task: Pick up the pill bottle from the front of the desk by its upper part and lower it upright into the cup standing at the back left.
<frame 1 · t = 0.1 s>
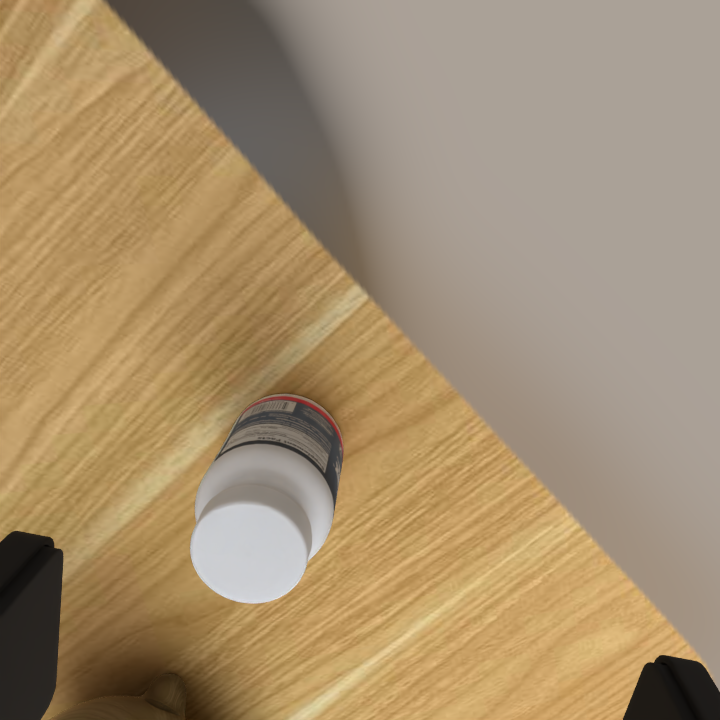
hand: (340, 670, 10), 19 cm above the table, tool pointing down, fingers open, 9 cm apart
pill bottle: (288, 442, 31), on the table
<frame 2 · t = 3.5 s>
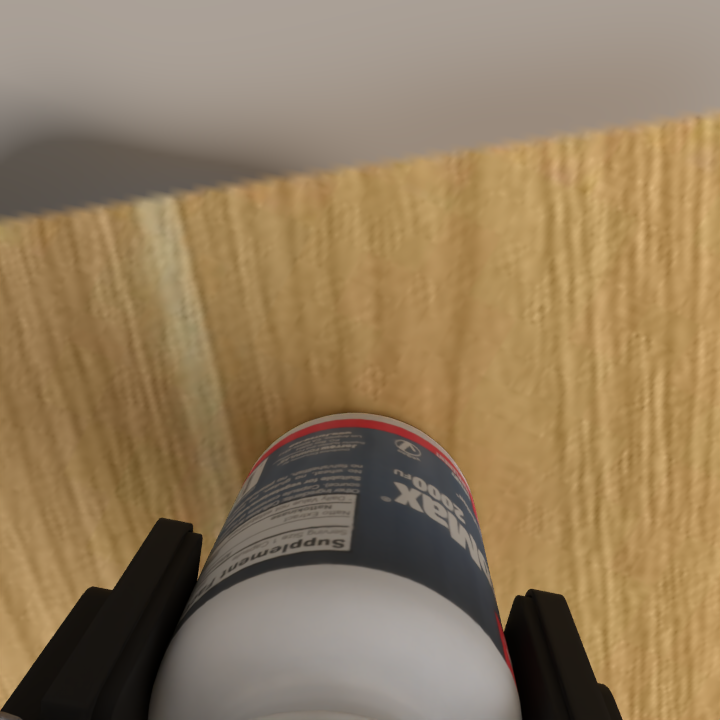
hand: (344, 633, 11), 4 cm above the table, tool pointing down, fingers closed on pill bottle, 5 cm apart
pill bottle: (358, 509, 15), on the table, touching gripper
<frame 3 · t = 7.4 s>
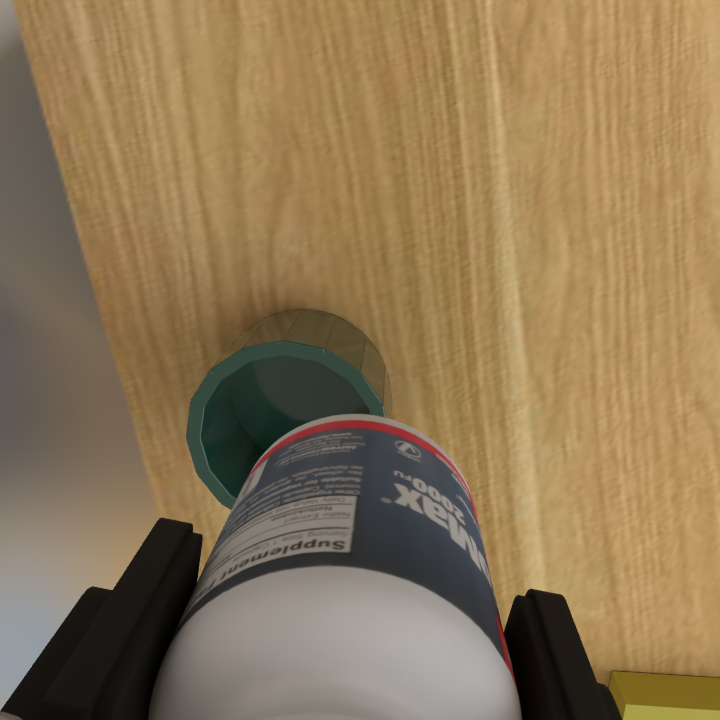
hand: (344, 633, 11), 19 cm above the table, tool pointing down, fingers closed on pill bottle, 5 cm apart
pill bottle: (358, 510, 15), point 15 cm above the table, touching gripper
cup: (305, 391, 30), on the table
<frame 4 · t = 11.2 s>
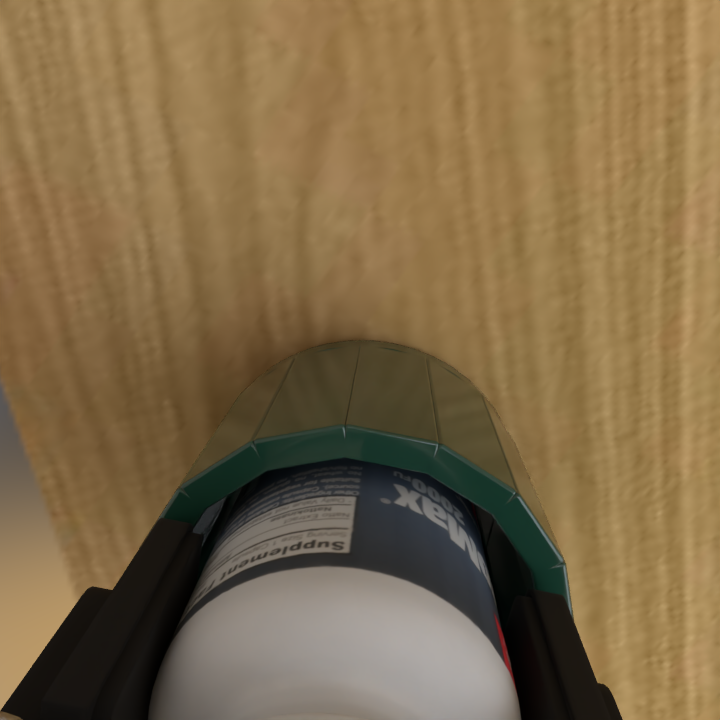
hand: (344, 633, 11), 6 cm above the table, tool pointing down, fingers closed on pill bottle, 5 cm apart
pill bottle: (357, 511, 15), point 2 cm above the table, touching gripper
cup: (363, 486, 17), on the table
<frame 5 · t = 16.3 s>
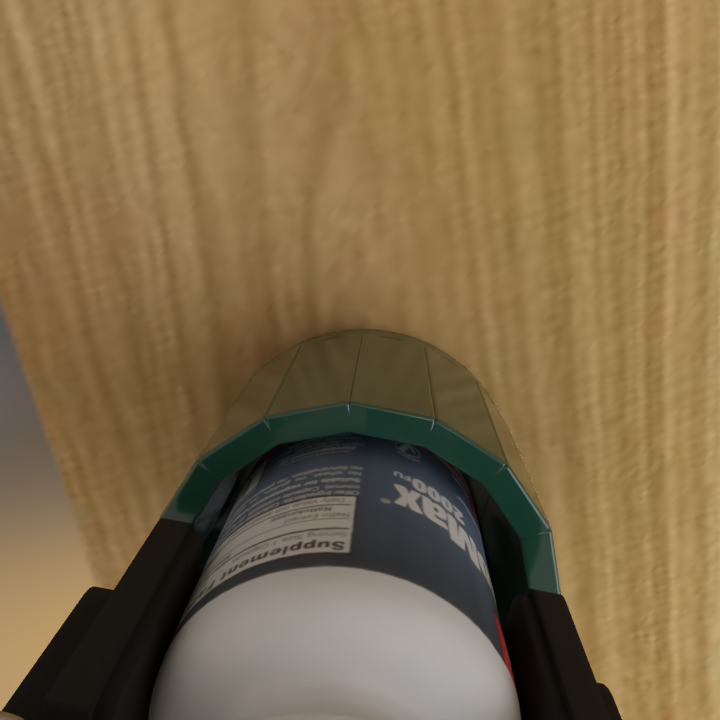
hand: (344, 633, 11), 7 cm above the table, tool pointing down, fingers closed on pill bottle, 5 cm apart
pill bottle: (357, 511, 15), point 3 cm above the table, touching gripper
cup: (365, 468, 18), on the table
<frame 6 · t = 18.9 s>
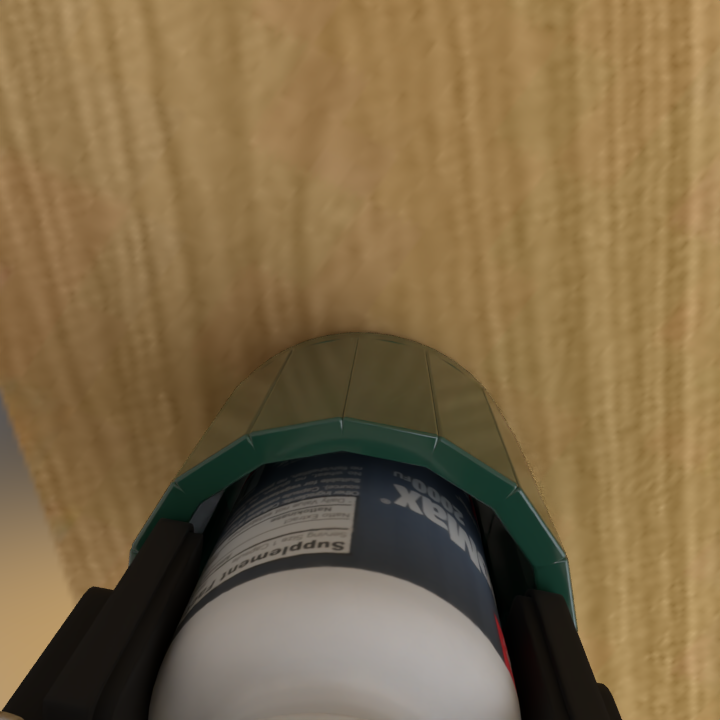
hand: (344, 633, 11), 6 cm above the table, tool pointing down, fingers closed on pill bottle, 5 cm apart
pill bottle: (357, 511, 15), point 2 cm above the table, touching gripper
cup: (361, 480, 17), on the table
when the fingers open (7 cm above the table, at t = 21.2 s): pill bottle drops 3 cm, resting on cup.
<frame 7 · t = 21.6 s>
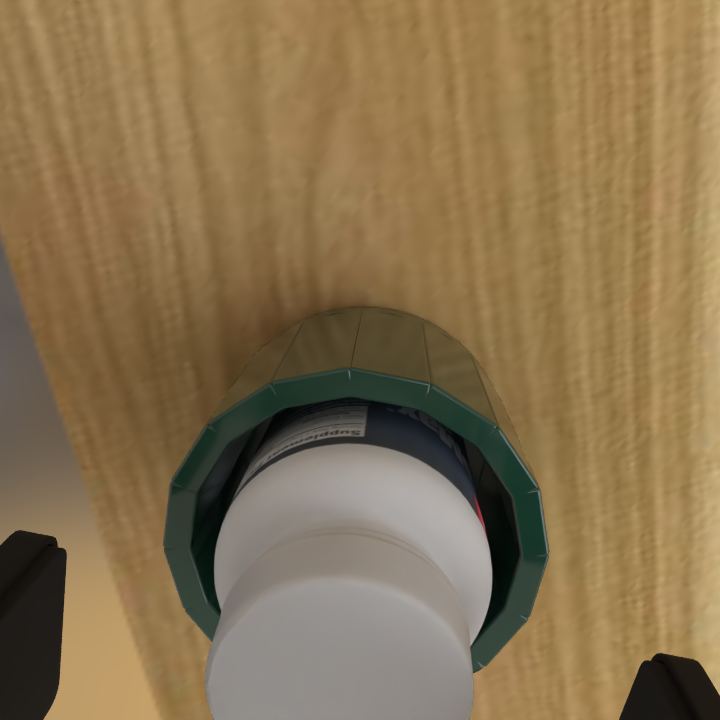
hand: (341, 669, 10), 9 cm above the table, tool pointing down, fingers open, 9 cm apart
pill bottle: (366, 441, 18), resting on cup
cup: (364, 440, 19), on the table
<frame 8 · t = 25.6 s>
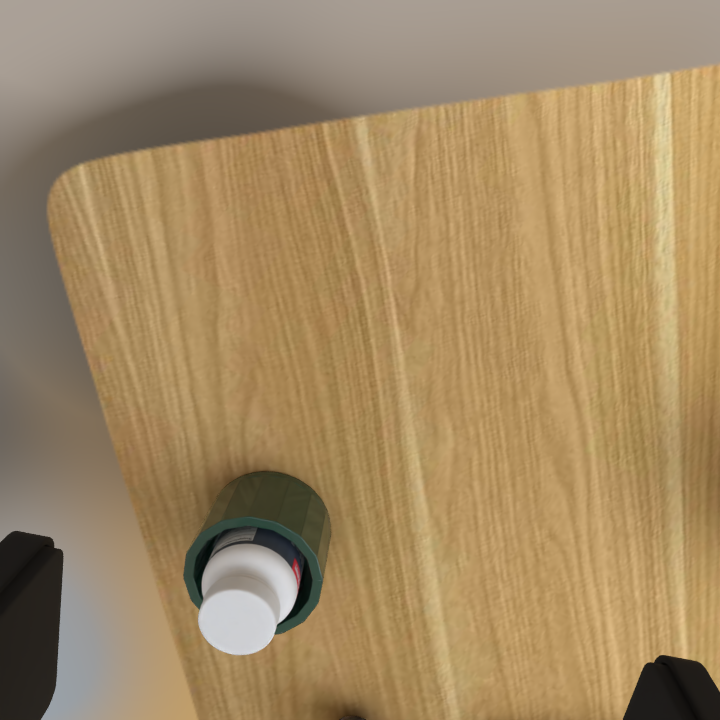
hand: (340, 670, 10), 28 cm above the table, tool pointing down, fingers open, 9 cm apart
pill bottle: (270, 527, 42), resting on cup
cup: (270, 526, 42), on the table
light bulb: (353, 715, 47), on the table
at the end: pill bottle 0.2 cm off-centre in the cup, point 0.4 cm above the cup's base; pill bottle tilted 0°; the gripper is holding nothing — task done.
